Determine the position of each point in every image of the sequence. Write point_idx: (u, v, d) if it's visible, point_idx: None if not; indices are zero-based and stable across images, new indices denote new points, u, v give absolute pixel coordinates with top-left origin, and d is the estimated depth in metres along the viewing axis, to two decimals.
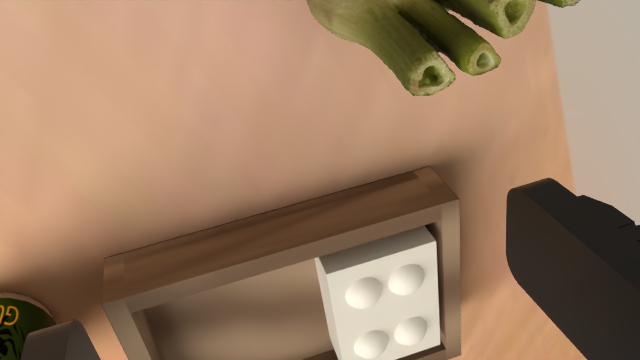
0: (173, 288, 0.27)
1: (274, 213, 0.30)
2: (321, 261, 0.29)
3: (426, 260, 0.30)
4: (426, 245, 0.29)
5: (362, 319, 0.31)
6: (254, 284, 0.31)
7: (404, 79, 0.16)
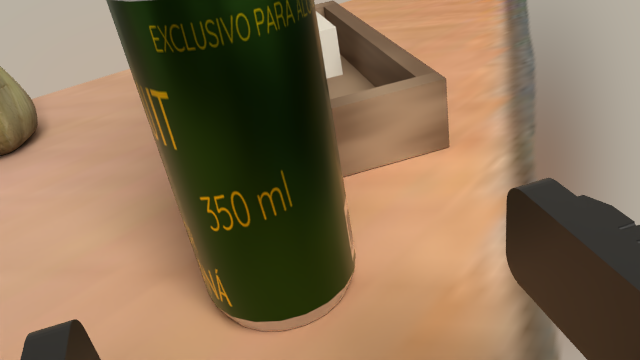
0: None
1: None
2: None
3: None
4: None
5: None
6: None
7: None
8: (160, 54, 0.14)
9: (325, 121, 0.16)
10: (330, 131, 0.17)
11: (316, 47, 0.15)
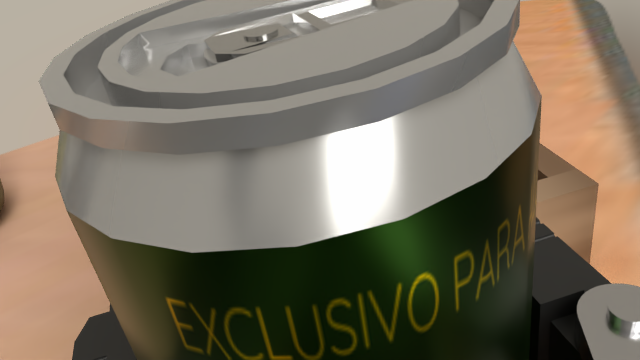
0: None
1: None
2: None
3: None
4: None
5: None
6: None
7: None
8: (196, 355, 0.05)
9: None
10: None
11: (532, 266, 0.07)
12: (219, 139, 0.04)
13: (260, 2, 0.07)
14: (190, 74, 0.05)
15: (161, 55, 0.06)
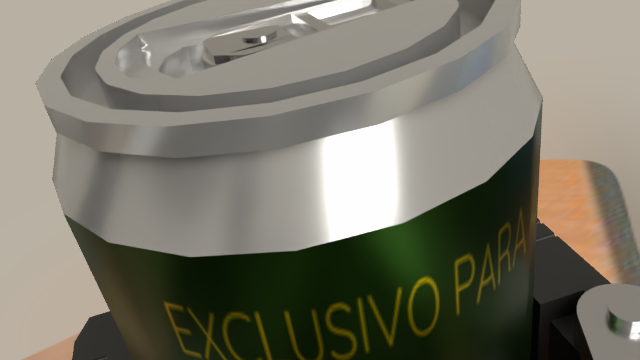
0: None
1: None
2: None
3: None
4: None
5: None
6: None
7: None
8: None
9: None
10: None
11: (533, 268, 0.07)
12: (217, 142, 0.04)
13: (259, 3, 0.07)
14: (188, 76, 0.05)
15: (159, 56, 0.06)
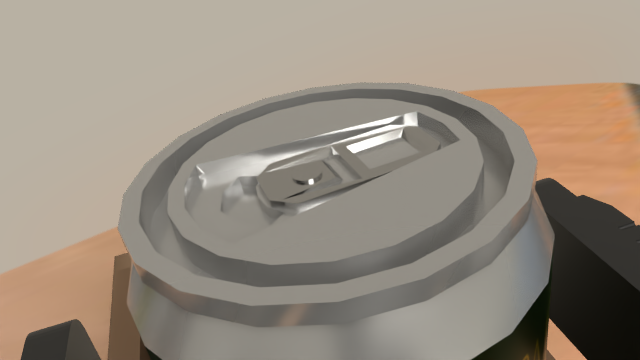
0: None
1: None
2: None
3: None
4: None
5: None
6: None
7: None
8: None
9: None
10: None
11: None
12: (292, 317, 0.05)
13: (301, 132, 0.08)
14: (255, 235, 0.06)
15: (217, 189, 0.07)
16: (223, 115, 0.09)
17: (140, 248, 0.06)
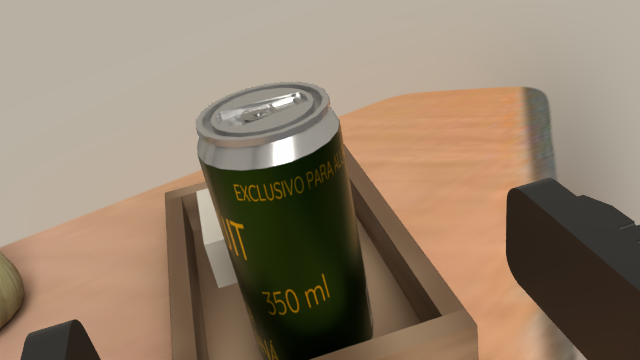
0: (179, 358, 0.23)
1: None
2: (209, 260, 0.30)
3: None
4: (198, 194, 0.34)
5: None
6: None
7: None
8: (240, 201, 0.20)
9: (353, 233, 0.22)
10: (356, 239, 0.23)
11: (346, 184, 0.21)
12: (247, 143, 0.19)
13: (257, 100, 0.21)
14: (239, 127, 0.19)
15: (227, 119, 0.21)
16: (229, 95, 0.22)
17: (204, 132, 0.20)
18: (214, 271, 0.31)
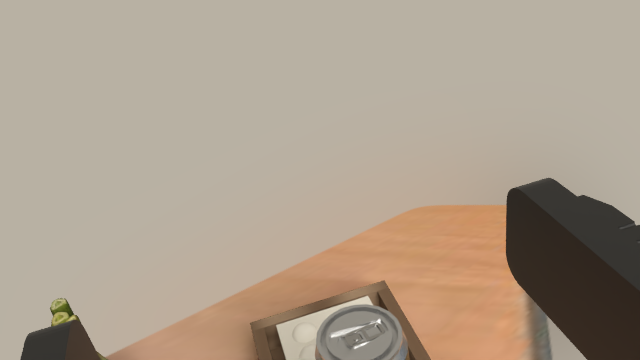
0: None
1: None
2: None
3: (290, 325, 0.46)
4: (278, 329, 0.46)
5: None
6: None
7: None
8: None
9: None
10: None
11: None
12: None
13: (353, 323, 0.33)
14: (348, 355, 0.31)
15: (335, 340, 0.32)
16: (331, 314, 0.34)
17: (325, 357, 0.31)
18: None
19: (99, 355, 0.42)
